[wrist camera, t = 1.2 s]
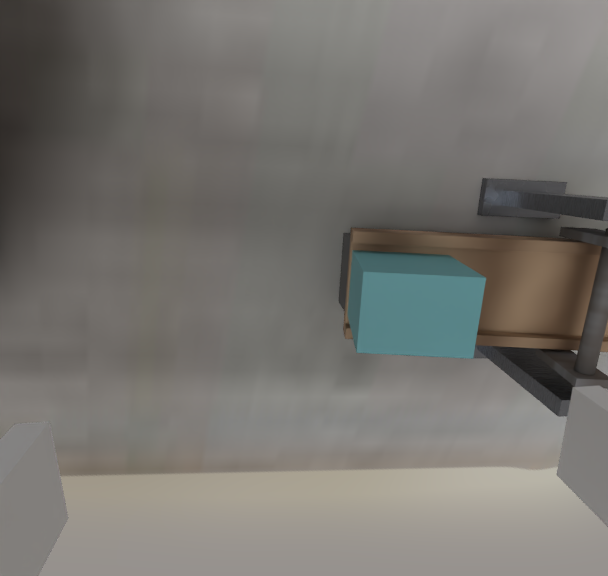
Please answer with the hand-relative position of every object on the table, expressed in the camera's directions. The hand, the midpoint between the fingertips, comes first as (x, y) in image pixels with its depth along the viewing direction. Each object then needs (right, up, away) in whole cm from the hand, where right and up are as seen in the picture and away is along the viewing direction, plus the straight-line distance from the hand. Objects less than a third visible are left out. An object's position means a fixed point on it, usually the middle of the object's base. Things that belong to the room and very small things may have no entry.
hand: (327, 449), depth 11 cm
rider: (+6, +4, +21) cm, 22 cm away
